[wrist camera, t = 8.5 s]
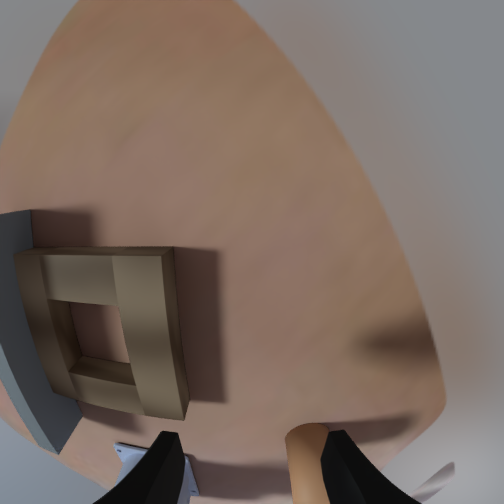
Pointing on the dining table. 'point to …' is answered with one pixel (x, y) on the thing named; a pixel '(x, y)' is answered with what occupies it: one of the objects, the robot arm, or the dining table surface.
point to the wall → (27, 349)
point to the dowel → (307, 463)
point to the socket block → (132, 318)
